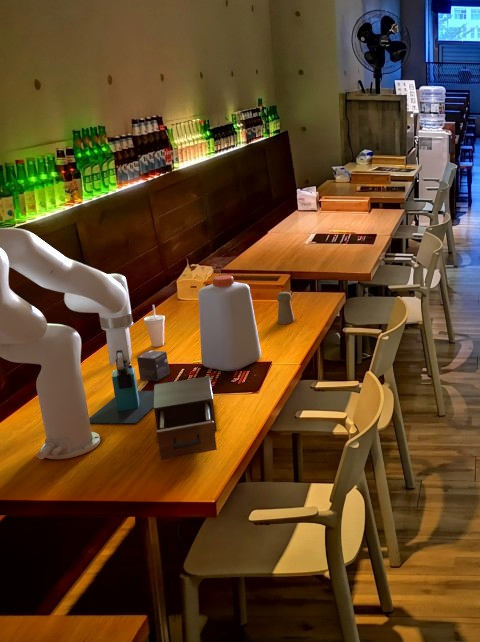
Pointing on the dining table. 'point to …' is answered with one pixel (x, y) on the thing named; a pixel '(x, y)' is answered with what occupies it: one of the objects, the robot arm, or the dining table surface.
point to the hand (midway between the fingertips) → (126, 383)
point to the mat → (124, 411)
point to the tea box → (126, 393)
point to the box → (153, 365)
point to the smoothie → (155, 328)
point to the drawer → (185, 431)
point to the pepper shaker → (284, 308)
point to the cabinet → (183, 396)
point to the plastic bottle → (227, 325)
